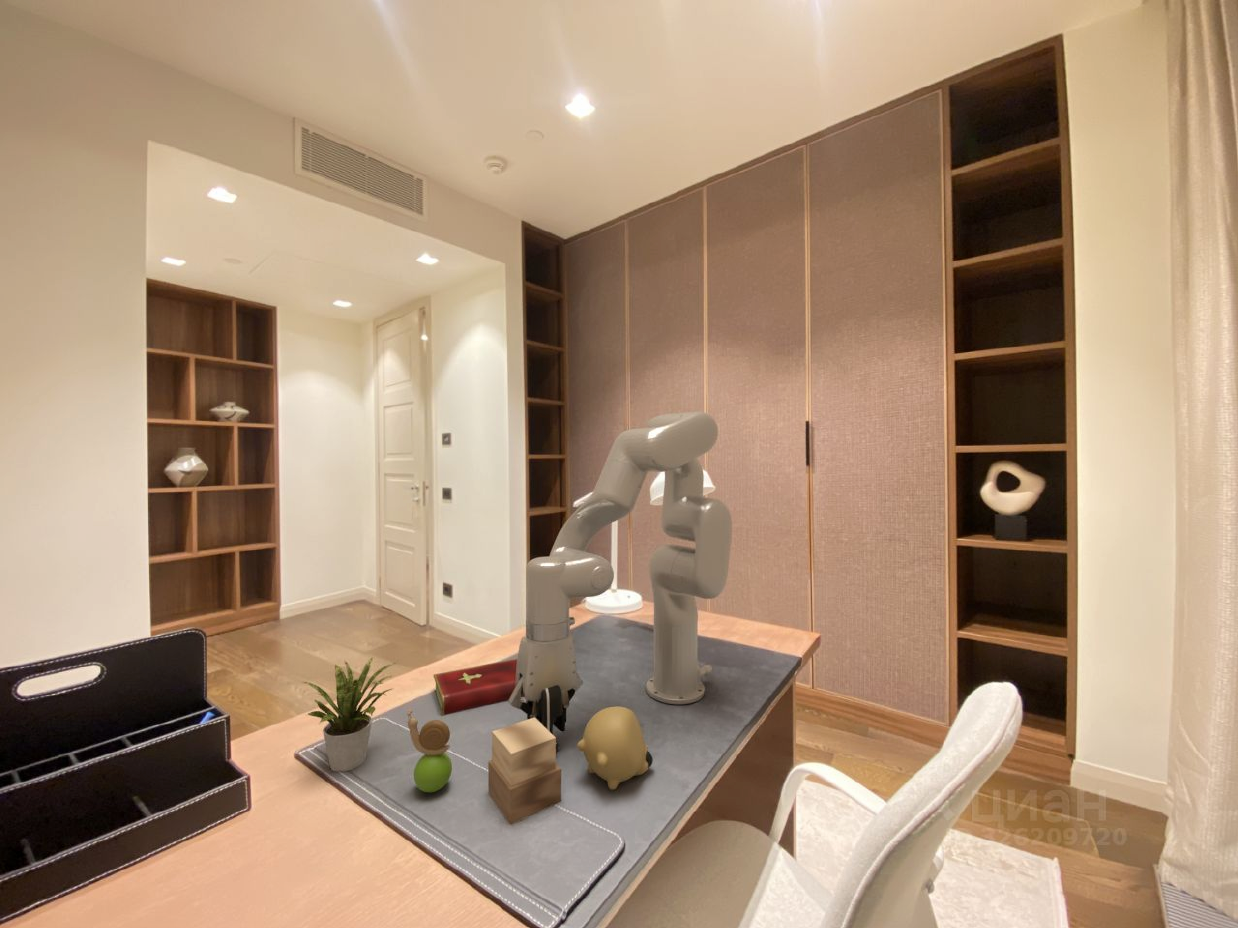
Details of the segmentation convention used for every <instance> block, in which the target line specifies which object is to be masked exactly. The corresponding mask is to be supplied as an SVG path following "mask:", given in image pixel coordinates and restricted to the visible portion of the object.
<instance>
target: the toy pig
mask: <svg viewBox="0 0 1238 928" xmlns="http://www.w3.org/2000/svg"><path fill="white" fill-rule="evenodd" d="M576 745H577V750H578V751H579V752H580V753H581V752H582V753H583V754H584V757H585V760H586V761H587V770H588V771H589V772H590V773H591V774H592V773H595V774H596V775H597V776H598V777H600V778H601V779H603V780H604V781H606V782H607V785H608V788H609V789H611V790H615V789H617V787H618V785H619V784H620V783H622V782H623V783H624V782H625V781H628V780H630V779H631V778H633V777H634V776H641V775H643V774H645V773H646V772H647V771H648V769H649V768H651V766H652V764H653V761H654V760H653V759H654V758H653V756H652V753H650V752H649V751H648V749H649V745H647V744H646V743H645V739H644V733H643V731H642V727H641V725H640V722H639V720H638V718H637V716H636V715H635V713H634V711H633V710H631V709H630V708H627V707H624V706H611V707H610V706H609V707H606V708H603V709H601V710H599V711H598V712H596V713H595V714H594V715H593V716H592V717H591V718H590V720H589V721H588V723H587V724H586V726H585V729H584V732H583V737H582V739H581V740H579V741H578V743H577V744H576Z"/></svg>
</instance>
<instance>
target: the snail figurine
mask: <svg viewBox="0 0 1238 928" xmlns="http://www.w3.org/2000/svg"><path fill="white" fill-rule="evenodd" d="M412 713H413V710H412V709H409V710H408V712H407V714H406V715H407V716H408V717H409V718H408V721H407V727H408V728H409V734H410V739H411V741H412V744H413V746H414V748H415V749H416V750H417V752H419V753H421V754H423V755H422V756H421V757H420V758H419V759H418V760H417V762H416V765H415V766H414V770H413V780H414V784H415V785H416V787H417V788H418V789H419V790H420V791H422V792H424V793H435V792H438V791H440V790H441V789H442V788H443V787H444V786H445V785H446V784H447V783H448V782H449V780H450V778H451V775H452V771H453V766H452V765H453V764H452V760H451V758H450V756H449V755H448V754H447V753H446V752H447V751H448V750H449V749H450V748H451V745H450V744H448V742H449V740H450V738H451V737H450V736H451V734H450V733H451V731H450V728H449V726H448V725H447V723H445V722H444V721H442V720H440V719H439V720H437V719H435V720H430V721H428V722H426V723H425V724H424V725H423V726H422V727H421V729H420V731H419V729H418V723H419V722H418V719H417V718H415V717H412V716H411V715H412Z"/></svg>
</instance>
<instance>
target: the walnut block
mask: <svg viewBox="0 0 1238 928" xmlns="http://www.w3.org/2000/svg"><path fill="white" fill-rule="evenodd" d="M487 765H488V775H487V777H488V779H487V781H488V782H487V783H488V786H487V787H488V794H489V796H490V797H491V799H492V801H493V802H494V803H495V805H496V806H497V808H498V809H499V810H500V813H501V814H502V815H503V816H504V818H505V819H506V821H507V823H508V824H509V825H513V824H515V823H517V822H520V821H522V820H524V819H525V818H528V817H530V816H532V815H535V814H537V813H539V812H541V811H544V810H545V809H547V808H549V807H551V806H554V805H556V804H559V803H560V802H562V768H561V767H560V766H559V765H558V763H556V768H555V769H552V770H550V771H547V772H545V773H542V774H540V775H538V776H535V777H533V778H530V779H528V780H525V781H523V782H521V783H518V784H516V785H513V786H510V784H509V783H508V782H507V780H506V779H505V778H504V776H503V775H502V774H501V772H500V771H499V770H498V768H497V767H496V766H495V764H494V763H493V762H492V759H490V760H488V762H487Z"/></svg>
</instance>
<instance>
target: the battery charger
mask: <svg viewBox="0 0 1238 928" xmlns="http://www.w3.org/2000/svg"><path fill="white" fill-rule="evenodd" d="M562 711H563V707H562V692H561V688H560V686H558V685H556V686H553V687H550V688H546V689H545V690H543V691H542V693H541V699H540V704H539V710H538V716H539V717H540V721H541V724H542V725H543V726H544V727H545V728H546V729H547V730H548V731H549V732H550V733H551V734H553V735H554V722H555V721H556V717H559V716H561V715H562ZM559 749H560V744H559V743H558V741H557V740H556V752H558V750H559Z"/></svg>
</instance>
